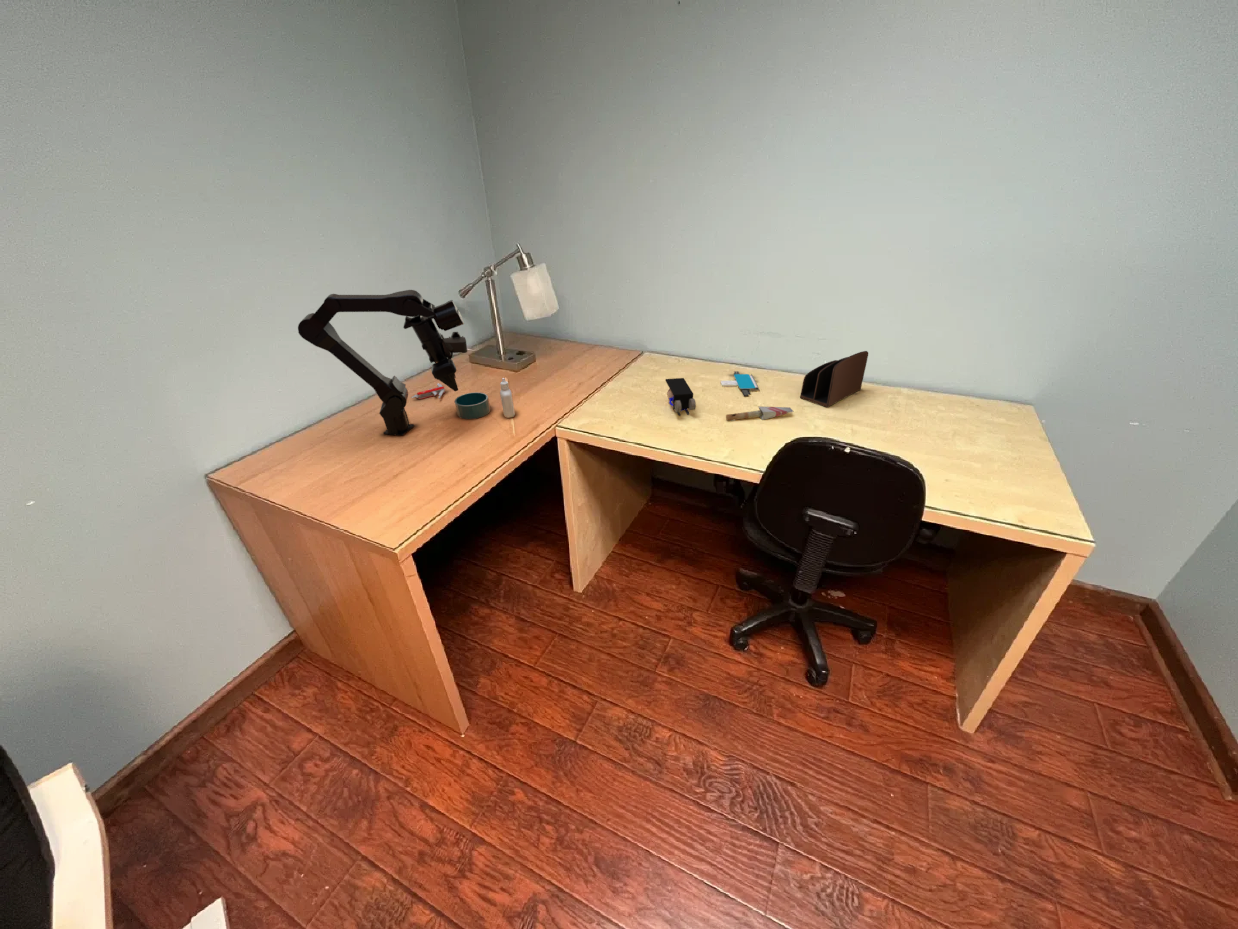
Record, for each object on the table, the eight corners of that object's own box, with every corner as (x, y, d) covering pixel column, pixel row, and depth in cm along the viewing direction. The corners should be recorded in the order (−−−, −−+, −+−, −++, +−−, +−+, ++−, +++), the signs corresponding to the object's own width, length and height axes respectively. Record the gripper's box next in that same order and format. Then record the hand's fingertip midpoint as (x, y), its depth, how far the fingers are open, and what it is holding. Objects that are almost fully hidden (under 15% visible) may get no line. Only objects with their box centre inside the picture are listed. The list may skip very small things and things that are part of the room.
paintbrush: (795, 407, 144) (728, 416, 143) (794, 416, 146) (728, 424, 145) (789, 402, 148) (724, 410, 146) (788, 410, 149) (724, 418, 148)
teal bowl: (481, 420, 151) (479, 407, 149) (451, 418, 153) (448, 404, 151) (495, 405, 159) (493, 393, 157) (466, 404, 161) (464, 391, 159)
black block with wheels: (696, 420, 149) (682, 395, 161) (698, 399, 144) (684, 375, 156) (675, 423, 148) (662, 397, 160) (676, 401, 144) (663, 377, 155)
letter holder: (860, 389, 161) (871, 348, 153) (827, 408, 150) (837, 364, 143) (832, 381, 167) (841, 340, 160) (799, 398, 157) (806, 355, 150)
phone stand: (717, 373, 176) (717, 369, 176) (750, 372, 176) (751, 368, 175) (725, 397, 160) (726, 392, 159) (762, 396, 159) (763, 391, 158)
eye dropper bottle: (519, 410, 156) (513, 375, 149) (512, 418, 151) (506, 382, 145) (506, 410, 157) (499, 374, 150) (499, 418, 152) (492, 381, 146)
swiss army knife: (417, 407, 160) (415, 402, 159) (407, 393, 170) (405, 388, 169) (451, 398, 165) (450, 393, 164) (440, 385, 175) (438, 380, 174)
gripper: (460, 336, 130) (485, 386, 139) (454, 315, 144) (477, 362, 154) (419, 352, 128) (447, 401, 138) (418, 330, 143) (443, 376, 153)
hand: (455, 384), depth 146 cm, fingers open, 9 cm apart
